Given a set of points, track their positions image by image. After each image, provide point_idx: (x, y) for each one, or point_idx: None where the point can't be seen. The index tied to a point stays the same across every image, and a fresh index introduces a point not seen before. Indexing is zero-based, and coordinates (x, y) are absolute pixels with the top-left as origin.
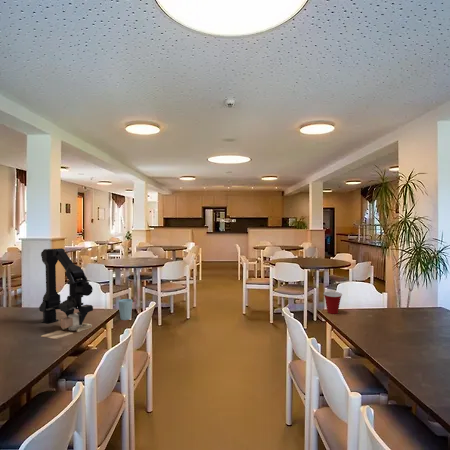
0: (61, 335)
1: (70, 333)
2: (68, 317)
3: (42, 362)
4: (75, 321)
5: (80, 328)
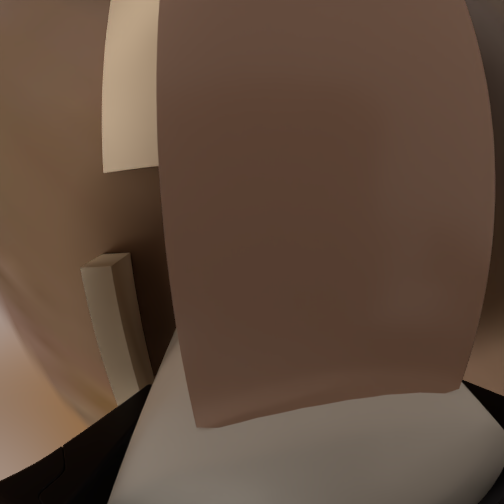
0: (155, 4)
1: (109, 126)
2: (411, 357)
3: None
4: (158, 377)
5: (93, 317)
